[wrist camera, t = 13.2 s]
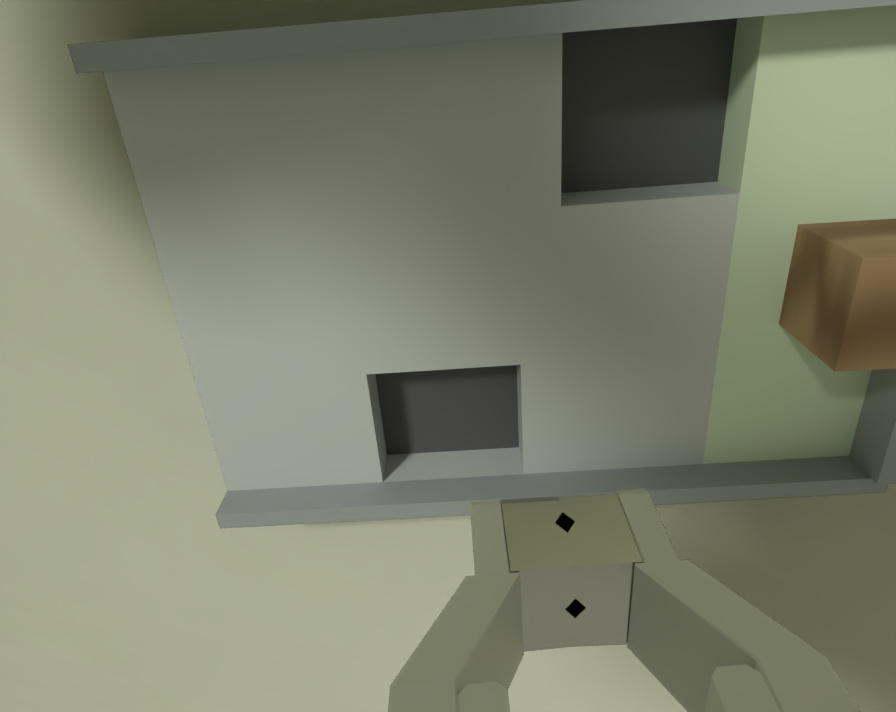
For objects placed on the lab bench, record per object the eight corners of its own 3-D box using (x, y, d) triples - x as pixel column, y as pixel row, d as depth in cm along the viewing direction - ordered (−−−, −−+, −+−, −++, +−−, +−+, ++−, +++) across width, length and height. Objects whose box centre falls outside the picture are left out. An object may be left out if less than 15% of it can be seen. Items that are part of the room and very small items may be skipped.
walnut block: (798, 224, 28) (862, 258, 24) (909, 217, 28) (995, 250, 24) (778, 323, 31) (834, 371, 26) (881, 318, 30) (955, 365, 26)
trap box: (128, 44, 28) (60, 44, 23) (949, -26, 26) (1062, -42, 22) (246, 472, 39) (216, 534, 34) (833, 438, 37) (891, 498, 32)
